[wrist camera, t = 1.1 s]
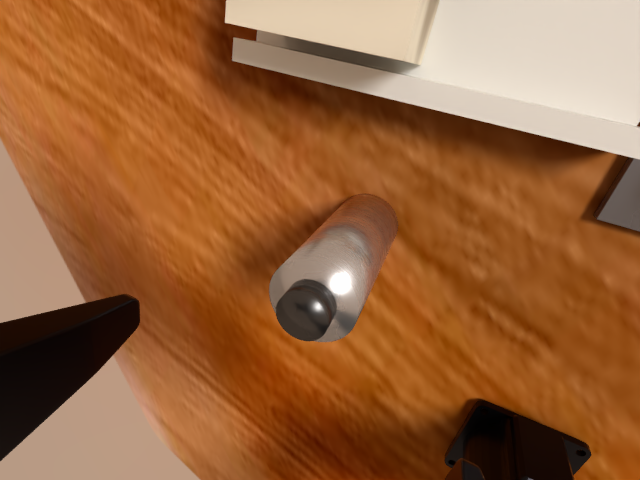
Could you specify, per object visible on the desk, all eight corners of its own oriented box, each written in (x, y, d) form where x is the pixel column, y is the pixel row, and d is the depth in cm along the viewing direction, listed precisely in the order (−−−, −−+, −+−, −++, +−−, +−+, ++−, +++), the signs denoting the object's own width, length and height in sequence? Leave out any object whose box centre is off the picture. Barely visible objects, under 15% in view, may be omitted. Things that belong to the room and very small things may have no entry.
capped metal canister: (387, 260, 21) (337, 373, 13) (331, 240, 22) (251, 335, 14) (406, 205, 20) (361, 295, 11) (344, 185, 20) (262, 257, 12)
